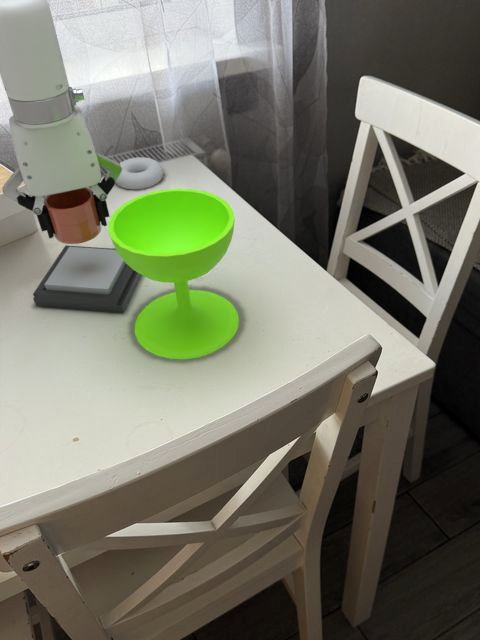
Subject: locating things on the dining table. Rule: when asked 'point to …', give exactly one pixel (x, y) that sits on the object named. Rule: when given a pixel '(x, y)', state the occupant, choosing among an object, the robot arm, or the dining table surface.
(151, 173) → the donut
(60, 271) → the grey square slab
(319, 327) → the dining table surface
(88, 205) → the cup
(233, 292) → the dining table surface
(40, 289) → the scale
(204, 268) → the wineglass
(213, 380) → the dining table surface
